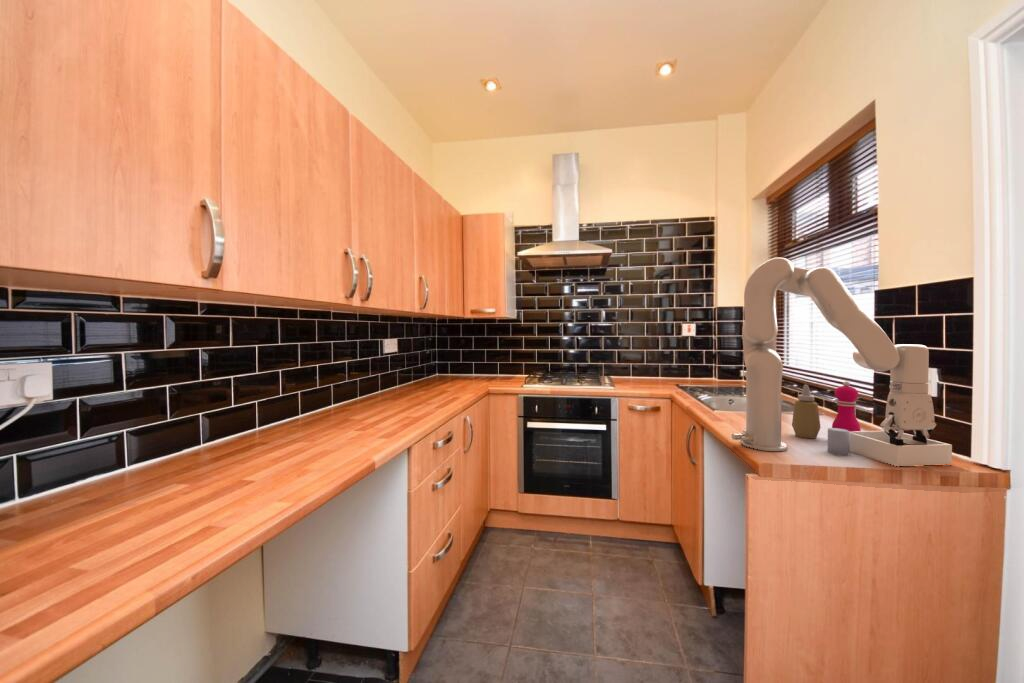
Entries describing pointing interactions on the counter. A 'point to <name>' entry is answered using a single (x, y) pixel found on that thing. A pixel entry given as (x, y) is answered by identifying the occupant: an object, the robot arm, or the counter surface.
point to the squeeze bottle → (806, 415)
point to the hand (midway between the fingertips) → (907, 451)
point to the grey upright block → (838, 441)
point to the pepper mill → (846, 408)
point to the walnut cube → (912, 442)
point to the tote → (898, 449)
